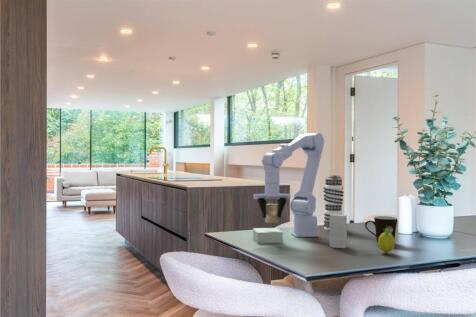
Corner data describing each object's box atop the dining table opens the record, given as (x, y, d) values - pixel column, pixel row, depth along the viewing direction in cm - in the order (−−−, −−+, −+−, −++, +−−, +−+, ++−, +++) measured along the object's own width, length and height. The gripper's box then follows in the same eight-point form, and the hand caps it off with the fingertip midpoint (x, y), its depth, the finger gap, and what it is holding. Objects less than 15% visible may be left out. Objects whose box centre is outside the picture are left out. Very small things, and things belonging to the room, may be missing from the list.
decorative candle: (322, 226, 200) (322, 174, 200) (342, 227, 199) (342, 175, 199) (323, 230, 191) (324, 175, 191) (344, 230, 190) (345, 175, 190)
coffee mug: (397, 242, 166) (398, 217, 166) (396, 246, 158) (396, 219, 158) (367, 239, 171) (367, 215, 171) (364, 243, 163) (364, 217, 163)
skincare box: (346, 246, 157) (347, 214, 157) (345, 248, 153) (346, 216, 153) (330, 245, 159) (330, 213, 159) (329, 247, 155) (329, 215, 155)
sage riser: (276, 237, 172) (277, 227, 172) (282, 242, 162) (282, 232, 162) (252, 237, 171) (253, 228, 171) (257, 243, 161) (257, 232, 161)
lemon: (388, 256, 141) (388, 227, 141) (373, 253, 146) (373, 224, 146) (399, 254, 145) (400, 225, 145) (384, 250, 150) (385, 223, 150)
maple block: (278, 221, 166) (278, 204, 166) (274, 223, 162) (274, 205, 162) (268, 221, 168) (269, 203, 168) (265, 222, 164) (265, 204, 164)
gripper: (286, 182, 170) (286, 215, 170) (251, 182, 168) (251, 216, 168) (292, 183, 163) (291, 218, 164) (256, 183, 161) (255, 218, 161)
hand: (271, 217), depth 165 cm, fingers closed on maple block, 6 cm apart
